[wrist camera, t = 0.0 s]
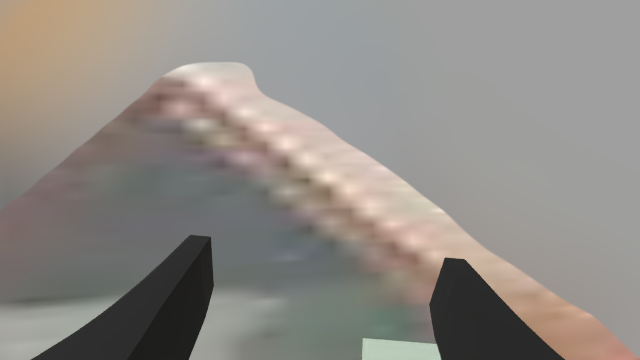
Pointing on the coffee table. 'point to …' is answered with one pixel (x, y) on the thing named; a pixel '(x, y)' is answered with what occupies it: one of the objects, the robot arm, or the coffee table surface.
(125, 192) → the coffee table surface
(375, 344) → the mat
